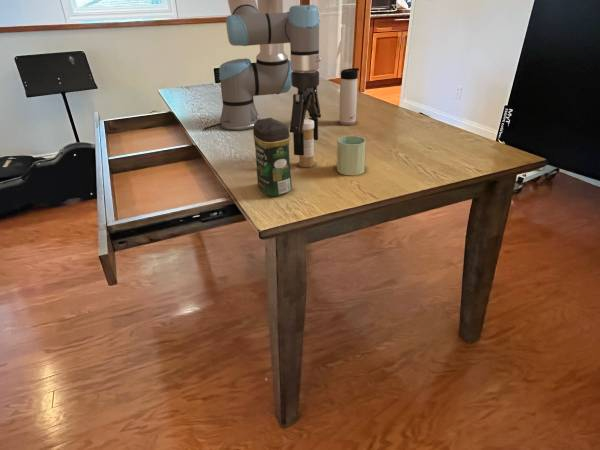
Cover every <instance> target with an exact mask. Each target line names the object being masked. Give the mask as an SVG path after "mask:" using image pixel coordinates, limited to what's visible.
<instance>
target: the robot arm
mask: <svg viewBox="0 0 600 450" xmlns="http://www.w3.org/2000/svg"><path fill="white" fill-rule="evenodd" d="M227 3H228V7H229V12H230V14H229V15H227V16H226V20H225V21H226V22H225V25H226V26H225V27H226V33H227V39H228V43H229V44H230V45H231V46H233V47H247V46H259V52H258V54H256V56H255V58H256V59H255V62H252V61H251V59H249V58H236V59H231V60H228V61H225V62H223V63H222V64H220V65H219V67H218V68H219V69H218V71H219V72H218V73H219V74H218V75H219V77H218V78H219V82H220V91H221V92H220V93H221V101H222V109H221V114H220V119H219V123H216V124H212V125H209V126H206V127H203V129H204V130H209V129H212V128H214V127H215V128H216V127H218V126H219V127H221V128H222V129H224V130H228V131H246V130H251V129H253V126H254V124H255V123H256V122H257V120H260V119H261V118H260V114H259V113H258V110H257V108H256V105H255V101H254V97H257V96H259V97H260V96H269V95H281V94H286V93H288V92H290V90H291V88H292V87H293V88H296V89H297V93H293V95H292V110H291V117H290V125H289V134H290V133H291V134H292V136H293V137H292V139H293V155H294V156H299V155H300V156H303V155H304V132H302V130H303V125H304V120H305V119H306V113H308V115H309V117H308V119H310V120H313V121H314V130H313V136H314V141H318V140H319V119H321V117H322V114H321V108H320V107H321V106H320V101H319V95H318V86H319V85H320V71H319V69H320V62H321V61H322V58H321V57H320V23H321V20H320V13H319V12H320V11H319V7H318V6H317V5H315V4H298V5H297V4H296V5H291V6H290V7H289V9H288V11H286V12H284V0H257V2H256V0H227ZM285 44H289V48H290V59H289V56H288V54H287V53H286V52H285V49H284V48H285V47H284V45H285Z"/></svg>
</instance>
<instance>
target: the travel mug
mask: <svg viewBox="0 0 600 450" xmlns="http://www.w3.org/2000/svg"><path fill="white" fill-rule="evenodd" d="M359 71H360V67H353V68H352V67H351V68H345V69H342V70H341V71H340V80H339V81H340V82H339V83H340V84H339V115H338V116H339V121H338V123H339V124H340V125H341V126H353V125H355V124H356V123H357V103H358V102H357V101H358V100H357V99H358V84H359V83H358V81H359V80H358V79H359Z"/></svg>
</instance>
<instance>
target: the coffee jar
mask: <svg viewBox="0 0 600 450" xmlns="http://www.w3.org/2000/svg"><path fill="white" fill-rule="evenodd" d="M252 129H253V132H252V133H253V135H252V137H253V141H254V142H253V143H254V148H255V162H256V177H257V179H256V180H257V187H258V188H259V190H260V191H261V192H262V193H263V194H264V195H266V196H268V197H281V196H284V195H286V194H288V193H290V192H291V191H292V188H293V187H292V186H293V185H292V174H291V159H290V140H291V138H290V137H291V135H290V127H289V126H288V125H286V124H285V123H283V122H281V121H279V120H277V119H275V118H272V117H267V118H260V120H257V122H256V123H255V124H254V126H253V128H252Z"/></svg>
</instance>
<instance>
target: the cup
mask: <svg viewBox="0 0 600 450" xmlns="http://www.w3.org/2000/svg"><path fill="white" fill-rule="evenodd" d="M366 154H367V139H366V137H363V136H360V135H353V134H352V135H350V134H349V135H343V136H340V137H338V138H337V140H336V171H337V172H338V173H339V174H341V175H344V176H357V175H361V174H363V173H364V172H365V168H366Z"/></svg>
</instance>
